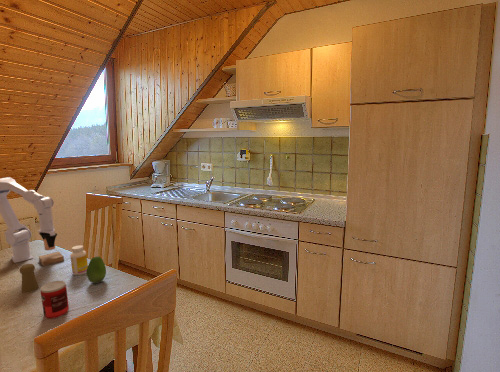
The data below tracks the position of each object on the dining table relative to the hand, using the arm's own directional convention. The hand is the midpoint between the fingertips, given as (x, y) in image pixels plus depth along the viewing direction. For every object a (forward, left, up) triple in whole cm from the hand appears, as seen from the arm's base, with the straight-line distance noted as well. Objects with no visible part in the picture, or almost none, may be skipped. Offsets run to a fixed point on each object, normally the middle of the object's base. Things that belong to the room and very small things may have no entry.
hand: (49, 245), depth 153 cm
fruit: (+41, +8, -8) cm, 43 cm away
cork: (+26, -14, -8) cm, 31 cm away
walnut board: (0, 0, -8) cm, 8 cm away
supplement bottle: (+25, +6, -8) cm, 28 cm away
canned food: (+54, -11, -8) cm, 56 cm away
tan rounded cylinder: (0, 0, -2) cm, 2 cm away
